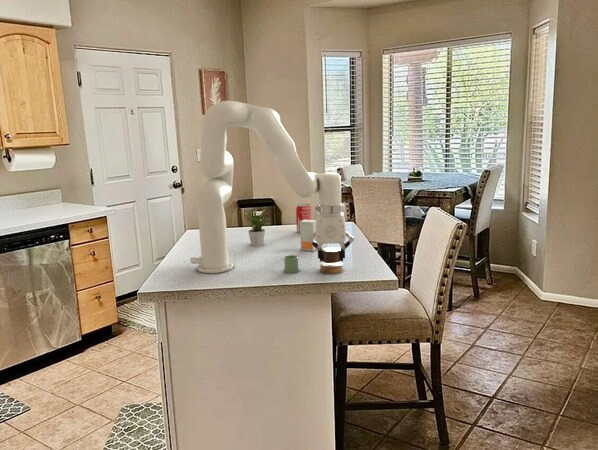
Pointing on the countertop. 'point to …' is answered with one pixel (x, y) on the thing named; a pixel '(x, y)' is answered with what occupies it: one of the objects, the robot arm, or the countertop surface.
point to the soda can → (302, 214)
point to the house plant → (257, 228)
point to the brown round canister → (331, 255)
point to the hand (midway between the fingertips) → (331, 260)
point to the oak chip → (331, 268)
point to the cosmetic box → (307, 234)
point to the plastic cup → (291, 264)
